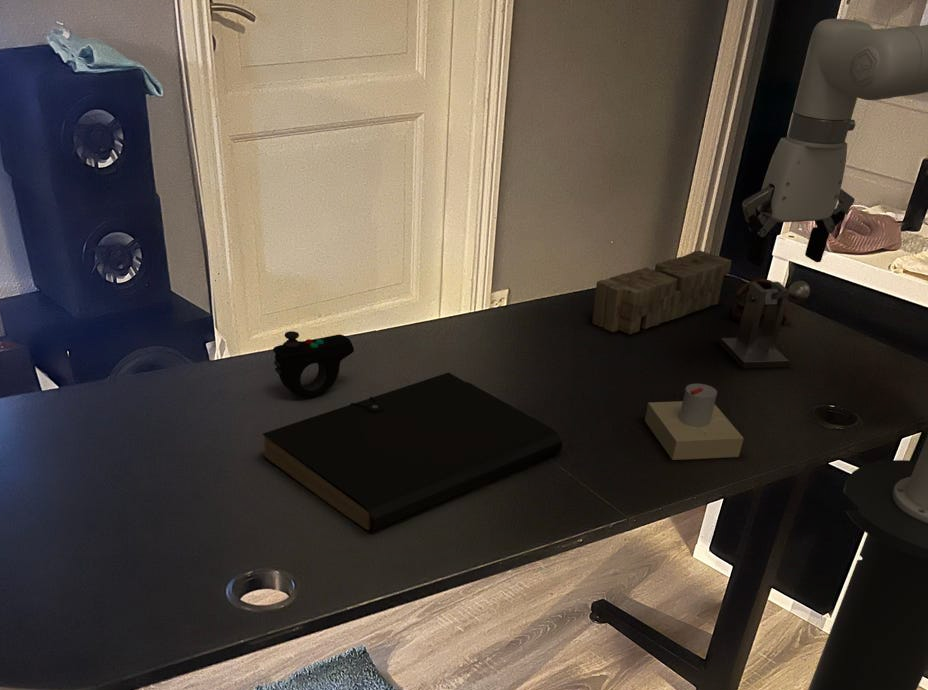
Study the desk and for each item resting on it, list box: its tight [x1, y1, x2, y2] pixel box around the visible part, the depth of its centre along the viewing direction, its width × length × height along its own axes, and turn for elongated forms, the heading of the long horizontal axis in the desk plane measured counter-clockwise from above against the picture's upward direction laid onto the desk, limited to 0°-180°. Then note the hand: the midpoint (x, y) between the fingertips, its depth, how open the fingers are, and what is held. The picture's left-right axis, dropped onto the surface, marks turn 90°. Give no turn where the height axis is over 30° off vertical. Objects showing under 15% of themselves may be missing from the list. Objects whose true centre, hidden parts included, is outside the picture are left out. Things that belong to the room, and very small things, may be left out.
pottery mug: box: [732, 277, 788, 326], centre depth 178 cm, size 12×10×8 cm
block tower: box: [592, 250, 732, 336], centre depth 177 cm, size 8×8×29 cm
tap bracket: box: [719, 281, 789, 369], centre depth 162 cm, size 10×8×12 cm
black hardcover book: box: [262, 372, 563, 532], centre depth 132 cm, size 33×4×24 cm
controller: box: [272, 330, 355, 399], centre depth 144 cm, size 4×12×10 cm, turn 124°
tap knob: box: [680, 383, 718, 426], centre depth 138 cm, size 4×4×5 cm
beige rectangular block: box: [644, 400, 745, 461], centre depth 140 cm, size 12×10×3 cm
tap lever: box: [764, 280, 811, 306], centre depth 155 cm, size 13×3×3 cm, turn 10°
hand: (783, 261), depth 140 cm, fingers open, 9 cm apart
